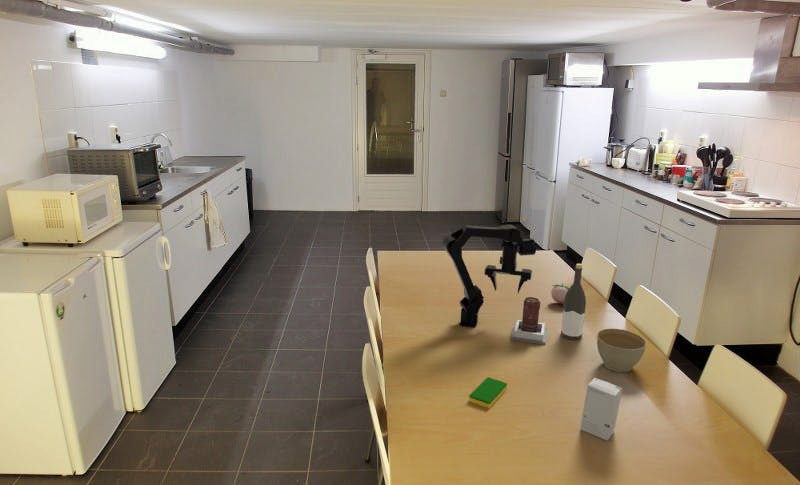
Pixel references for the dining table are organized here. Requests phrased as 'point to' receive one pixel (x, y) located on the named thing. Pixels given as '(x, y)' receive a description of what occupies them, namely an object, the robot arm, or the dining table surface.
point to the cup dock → (529, 334)
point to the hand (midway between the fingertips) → (506, 291)
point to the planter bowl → (620, 349)
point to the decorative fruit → (559, 292)
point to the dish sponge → (488, 392)
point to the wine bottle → (574, 308)
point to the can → (530, 314)
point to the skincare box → (601, 408)
